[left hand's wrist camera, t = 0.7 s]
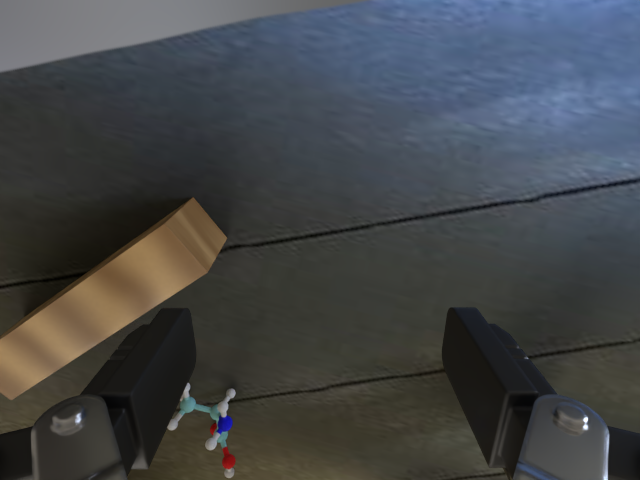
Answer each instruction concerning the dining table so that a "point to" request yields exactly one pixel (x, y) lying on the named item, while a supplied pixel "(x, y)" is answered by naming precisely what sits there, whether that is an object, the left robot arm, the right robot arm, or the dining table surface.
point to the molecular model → (217, 429)
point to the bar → (109, 297)
